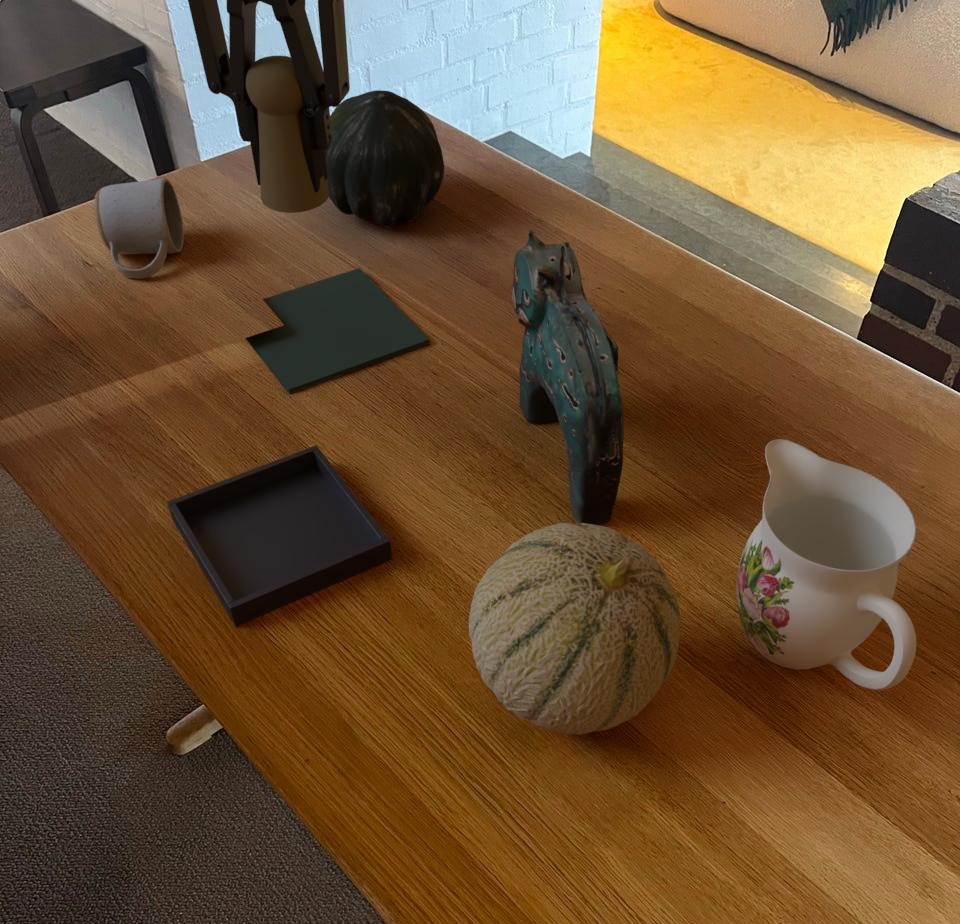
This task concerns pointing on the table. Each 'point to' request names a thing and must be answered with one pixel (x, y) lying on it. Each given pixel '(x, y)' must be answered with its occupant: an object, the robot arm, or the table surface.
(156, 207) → the ceramic mug
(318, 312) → the mat
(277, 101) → the wooden peg doll
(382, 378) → the table surface
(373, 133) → the squash
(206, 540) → the tray
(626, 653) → the cantaloupe
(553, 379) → the ceramic cat
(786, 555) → the pitcher
